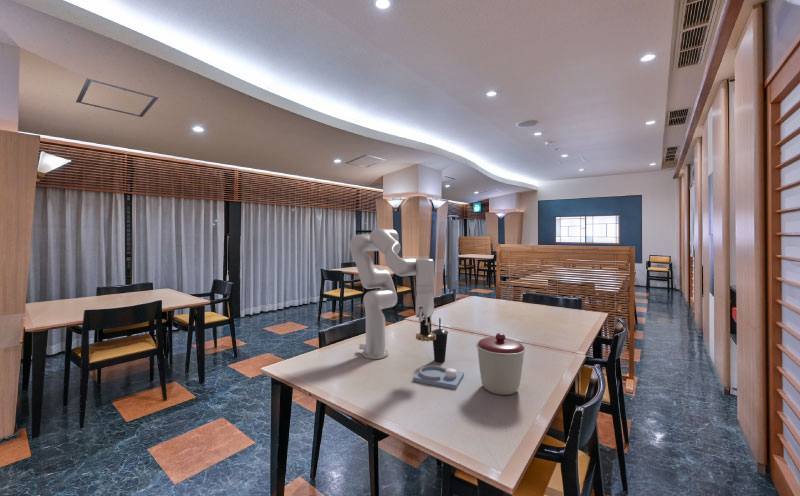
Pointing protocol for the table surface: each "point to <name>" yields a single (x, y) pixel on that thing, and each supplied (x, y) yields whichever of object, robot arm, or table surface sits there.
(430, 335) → the bronze gear
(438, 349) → the drinking cup
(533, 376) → the table surface
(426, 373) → the carrier plate
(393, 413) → the table surface
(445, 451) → the table surface
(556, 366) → the table surface
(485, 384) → the canister
